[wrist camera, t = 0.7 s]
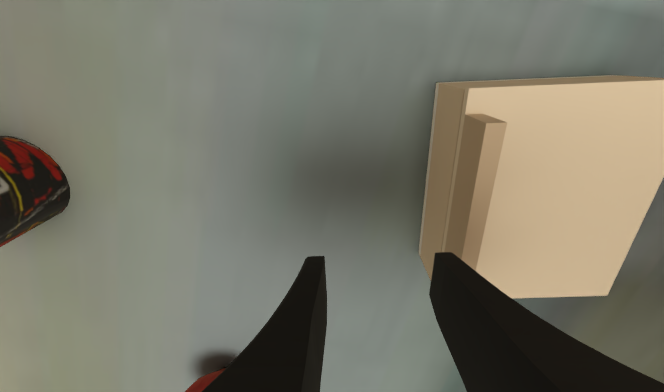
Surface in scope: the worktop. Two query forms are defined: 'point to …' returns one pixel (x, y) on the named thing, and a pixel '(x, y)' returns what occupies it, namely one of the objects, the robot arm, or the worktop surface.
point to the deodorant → (28, 188)
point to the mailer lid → (554, 183)
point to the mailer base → (445, 149)
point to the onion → (204, 381)
